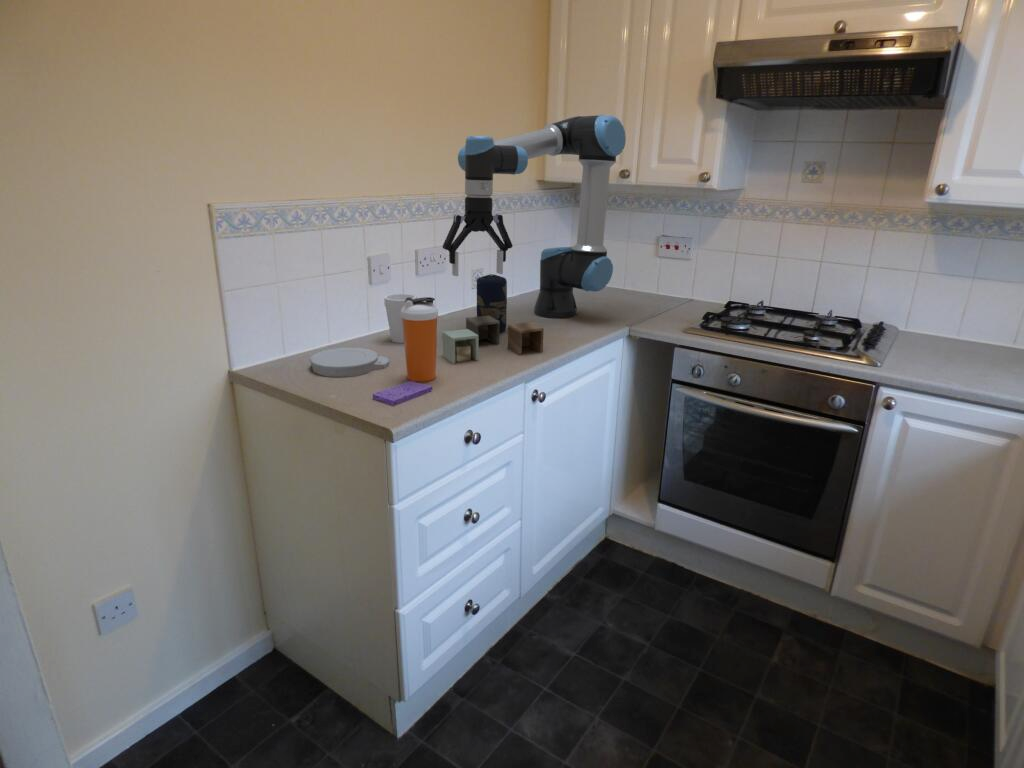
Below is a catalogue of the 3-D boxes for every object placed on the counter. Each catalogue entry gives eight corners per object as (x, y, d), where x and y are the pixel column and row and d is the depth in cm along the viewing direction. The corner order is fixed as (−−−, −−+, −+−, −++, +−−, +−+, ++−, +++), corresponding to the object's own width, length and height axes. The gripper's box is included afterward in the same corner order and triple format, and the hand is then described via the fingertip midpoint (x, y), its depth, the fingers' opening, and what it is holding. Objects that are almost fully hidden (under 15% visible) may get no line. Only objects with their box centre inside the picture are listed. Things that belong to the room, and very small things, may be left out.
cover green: (467, 352, 182) (467, 328, 180) (478, 360, 176) (478, 335, 173) (442, 356, 179) (442, 331, 177) (452, 363, 173) (452, 338, 170)
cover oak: (488, 337, 197) (488, 315, 195) (499, 344, 191) (499, 321, 189) (466, 340, 194) (466, 317, 192) (476, 347, 188) (476, 323, 185)
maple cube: (464, 356, 180) (464, 342, 178) (470, 360, 176) (470, 345, 175) (451, 357, 178) (451, 343, 177) (456, 361, 175) (456, 347, 173)
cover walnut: (530, 345, 191) (531, 322, 188) (542, 351, 184) (543, 328, 182) (507, 347, 187) (507, 324, 185) (519, 354, 181) (519, 330, 179)
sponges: (372, 401, 147) (372, 393, 147) (411, 386, 157) (411, 379, 156) (394, 408, 143) (393, 400, 143) (433, 392, 153) (432, 385, 152)
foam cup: (408, 345, 188) (406, 301, 184) (380, 342, 191) (378, 298, 187) (423, 337, 196) (422, 295, 192) (396, 334, 199) (394, 292, 195)
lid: (392, 374, 164) (391, 363, 163) (310, 380, 159) (309, 368, 158) (386, 355, 180) (386, 345, 179) (311, 360, 175) (310, 349, 174)
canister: (502, 335, 200) (503, 277, 194) (473, 333, 202) (473, 276, 196) (509, 328, 209) (510, 272, 203) (480, 326, 211) (480, 271, 204)
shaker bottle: (442, 381, 159) (440, 301, 152) (406, 384, 157) (402, 303, 150) (436, 370, 167) (434, 294, 160) (401, 373, 165) (398, 295, 158)
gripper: (440, 197, 168) (440, 278, 174) (525, 197, 178) (523, 274, 185) (430, 195, 174) (431, 274, 181) (513, 196, 184) (511, 270, 191)
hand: (477, 274), depth 183 cm, fingers open, 13 cm apart
